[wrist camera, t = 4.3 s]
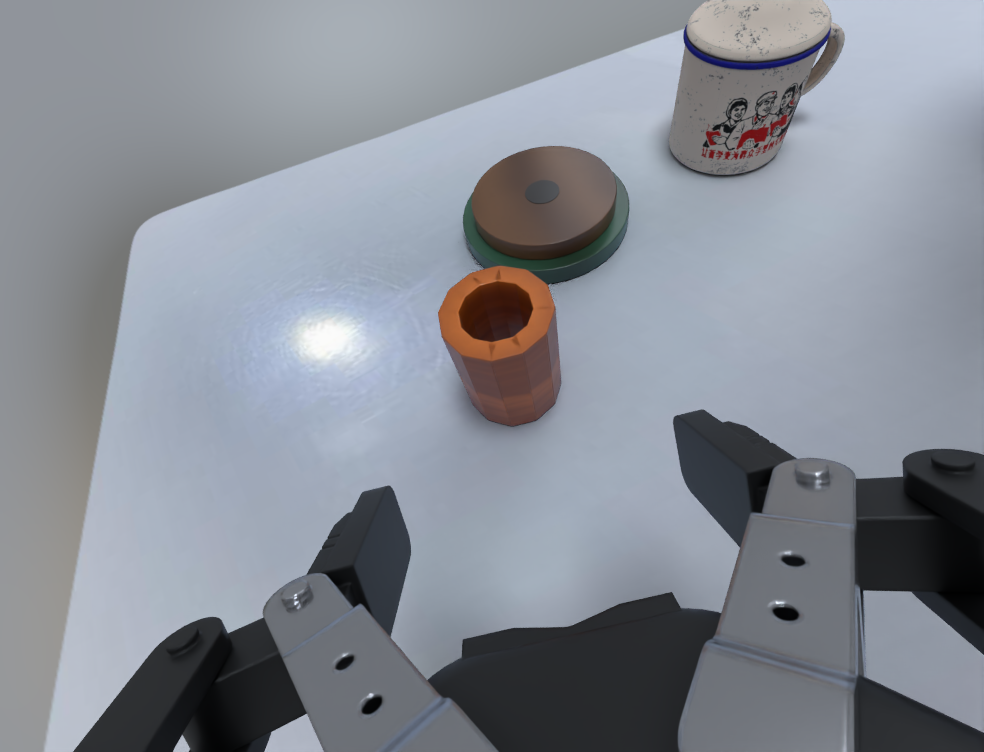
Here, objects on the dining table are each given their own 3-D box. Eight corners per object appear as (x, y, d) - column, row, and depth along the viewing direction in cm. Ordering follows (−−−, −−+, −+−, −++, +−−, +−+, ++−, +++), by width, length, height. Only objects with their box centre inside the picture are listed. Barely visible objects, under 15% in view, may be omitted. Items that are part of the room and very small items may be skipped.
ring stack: (572, 150, 42) (572, 117, 39) (662, 235, 35) (668, 203, 33) (443, 211, 41) (433, 181, 38) (510, 311, 34) (504, 284, 31)
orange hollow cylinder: (547, 336, 32) (537, 254, 26) (570, 412, 29) (567, 342, 22) (463, 357, 33) (432, 282, 26) (478, 434, 30) (447, 372, 23)
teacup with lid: (695, 192, 37) (737, 25, 27) (647, 129, 41) (668, -33, 32) (842, 147, 37) (940, -39, 27) (778, 89, 41) (841, -88, 31)
